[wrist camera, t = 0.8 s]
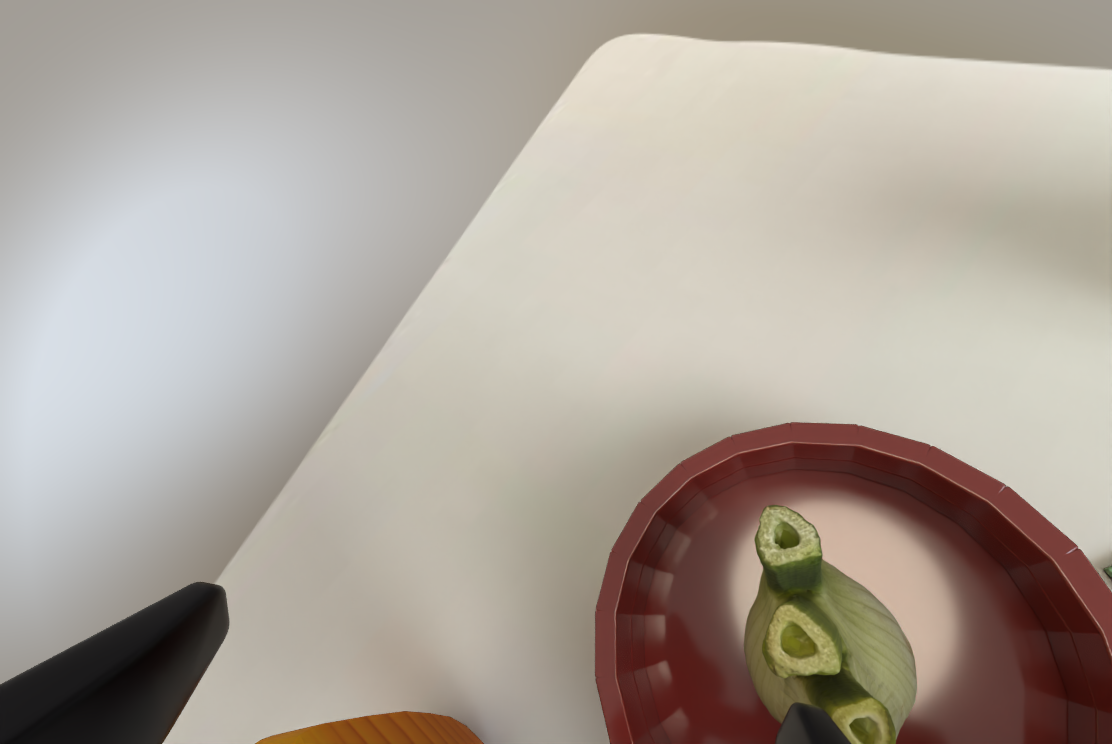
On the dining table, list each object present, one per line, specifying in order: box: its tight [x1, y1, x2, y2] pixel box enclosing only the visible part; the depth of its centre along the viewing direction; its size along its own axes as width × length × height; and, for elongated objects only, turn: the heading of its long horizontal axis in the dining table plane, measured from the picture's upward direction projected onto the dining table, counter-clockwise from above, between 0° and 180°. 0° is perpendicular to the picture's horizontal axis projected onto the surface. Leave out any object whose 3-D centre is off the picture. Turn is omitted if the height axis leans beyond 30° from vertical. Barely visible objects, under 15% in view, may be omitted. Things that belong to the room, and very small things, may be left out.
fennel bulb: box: [744, 505, 917, 744], centre depth 14 cm, size 6×5×12 cm
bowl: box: [595, 422, 1112, 744], centre depth 17 cm, size 15×15×4 cm
